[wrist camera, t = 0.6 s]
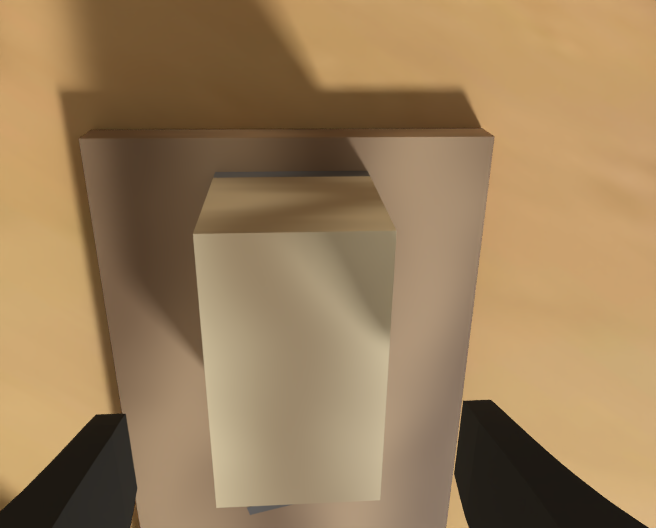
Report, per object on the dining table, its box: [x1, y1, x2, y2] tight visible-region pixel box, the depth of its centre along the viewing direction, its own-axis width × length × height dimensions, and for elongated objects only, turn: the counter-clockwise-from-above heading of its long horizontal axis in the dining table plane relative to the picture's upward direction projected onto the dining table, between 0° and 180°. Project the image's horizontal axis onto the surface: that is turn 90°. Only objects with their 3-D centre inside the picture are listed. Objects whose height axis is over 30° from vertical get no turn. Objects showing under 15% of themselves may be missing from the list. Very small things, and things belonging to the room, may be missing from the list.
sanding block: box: [193, 171, 397, 508], centre depth 17 cm, size 4×8×5 cm, turn 179°
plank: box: [79, 128, 494, 528], centre depth 23 cm, size 12×22×1 cm, turn 179°
